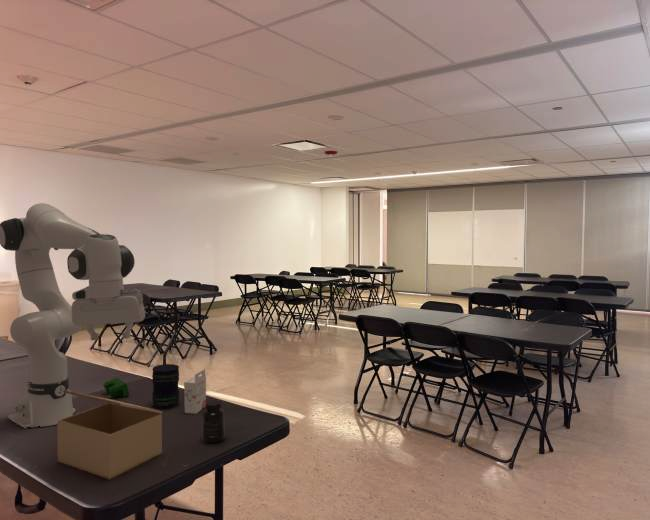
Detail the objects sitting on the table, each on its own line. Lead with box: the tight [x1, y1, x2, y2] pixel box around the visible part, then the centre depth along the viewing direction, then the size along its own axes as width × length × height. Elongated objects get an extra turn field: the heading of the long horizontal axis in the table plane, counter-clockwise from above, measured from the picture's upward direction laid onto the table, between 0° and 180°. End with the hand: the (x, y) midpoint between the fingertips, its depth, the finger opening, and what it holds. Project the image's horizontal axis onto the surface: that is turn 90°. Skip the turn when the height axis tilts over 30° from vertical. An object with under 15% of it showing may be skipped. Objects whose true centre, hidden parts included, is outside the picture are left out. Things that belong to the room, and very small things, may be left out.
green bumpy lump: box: [103, 377, 130, 399], centre depth 193 cm, size 12×6×9 cm, turn 36°
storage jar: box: [151, 363, 180, 411], centre depth 182 cm, size 10×10×15 cm
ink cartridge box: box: [183, 369, 207, 415], centre depth 178 cm, size 9×5×15 cm, turn 168°
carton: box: [56, 403, 163, 480], centre depth 138 cm, size 22×18×12 cm
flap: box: [63, 390, 163, 414], centre depth 138 cm, size 22×18×1 cm
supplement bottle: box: [202, 400, 225, 444], centre depth 151 cm, size 7×7×12 cm
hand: (110, 339), depth 134 cm, fingers open, 8 cm apart
